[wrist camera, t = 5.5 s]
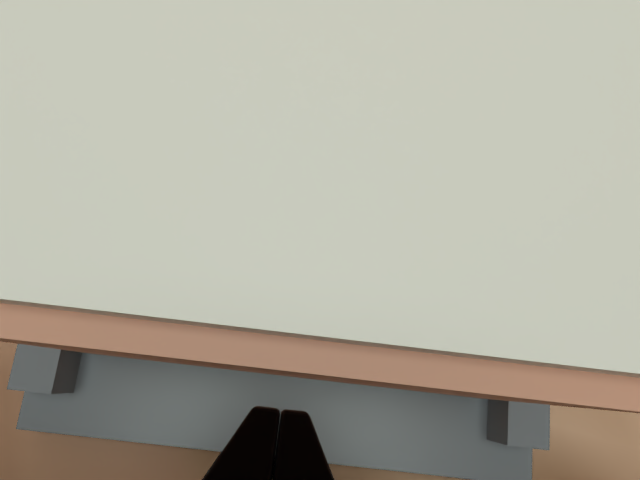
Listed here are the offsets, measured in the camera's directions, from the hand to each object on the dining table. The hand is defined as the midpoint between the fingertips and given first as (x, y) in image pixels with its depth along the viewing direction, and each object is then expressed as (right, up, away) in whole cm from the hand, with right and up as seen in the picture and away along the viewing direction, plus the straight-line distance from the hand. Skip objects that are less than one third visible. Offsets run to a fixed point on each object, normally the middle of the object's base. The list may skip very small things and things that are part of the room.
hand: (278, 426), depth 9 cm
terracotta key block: (0, +2, +7) cm, 7 cm away
